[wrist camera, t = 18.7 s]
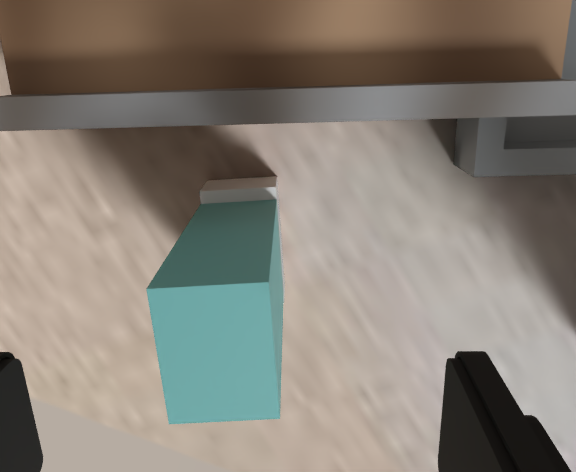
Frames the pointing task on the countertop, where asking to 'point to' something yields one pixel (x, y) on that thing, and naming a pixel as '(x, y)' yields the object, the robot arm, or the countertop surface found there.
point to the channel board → (280, 61)
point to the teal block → (223, 307)
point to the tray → (521, 136)
